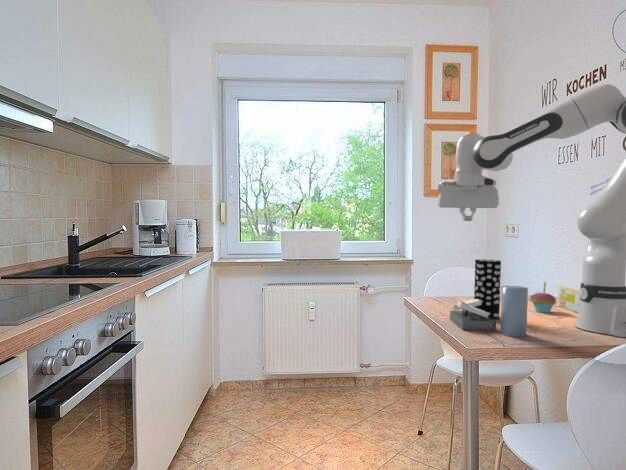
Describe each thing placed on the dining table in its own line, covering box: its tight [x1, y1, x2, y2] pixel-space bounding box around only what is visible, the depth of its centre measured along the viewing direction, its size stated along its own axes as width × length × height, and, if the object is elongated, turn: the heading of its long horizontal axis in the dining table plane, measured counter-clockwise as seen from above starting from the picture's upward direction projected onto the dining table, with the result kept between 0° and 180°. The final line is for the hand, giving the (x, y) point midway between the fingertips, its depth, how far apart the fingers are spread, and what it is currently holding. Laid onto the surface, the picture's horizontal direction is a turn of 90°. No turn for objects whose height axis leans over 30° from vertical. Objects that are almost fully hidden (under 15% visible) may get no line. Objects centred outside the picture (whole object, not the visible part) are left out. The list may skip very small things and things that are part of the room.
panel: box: [449, 309, 497, 332], centre depth 133 cm, size 10×14×5 cm
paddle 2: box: [456, 300, 489, 318], centre depth 129 cm, size 9×4×2 cm, turn 86°
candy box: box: [556, 286, 581, 314], centre depth 158 cm, size 16×2×8 cm, turn 0°
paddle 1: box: [449, 298, 481, 311], centre depth 136 cm, size 9×4×2 cm, turn 87°
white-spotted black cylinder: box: [473, 258, 502, 321], centre depth 144 cm, size 8×8×20 cm
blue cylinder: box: [500, 285, 529, 338], centre depth 122 cm, size 7×7×14 cm
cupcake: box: [529, 280, 557, 314], centre depth 155 cm, size 9×8×12 cm
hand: (467, 220), depth 144 cm, fingers closed
